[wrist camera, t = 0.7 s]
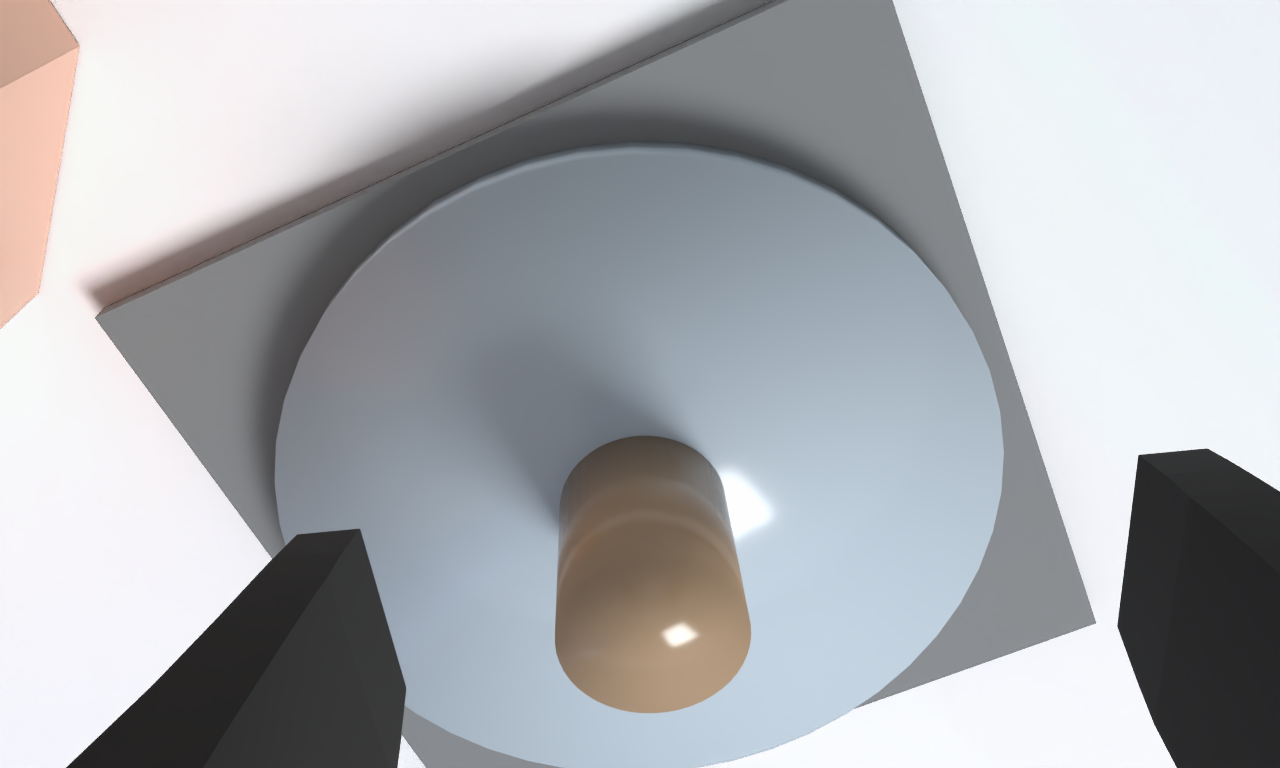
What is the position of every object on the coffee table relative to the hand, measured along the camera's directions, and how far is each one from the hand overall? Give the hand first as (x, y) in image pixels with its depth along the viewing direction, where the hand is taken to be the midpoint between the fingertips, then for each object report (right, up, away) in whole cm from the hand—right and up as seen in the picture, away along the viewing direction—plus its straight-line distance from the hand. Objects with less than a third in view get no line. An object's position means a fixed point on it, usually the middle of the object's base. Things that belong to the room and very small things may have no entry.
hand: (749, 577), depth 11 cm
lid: (-1, 0, +11) cm, 11 cm away
